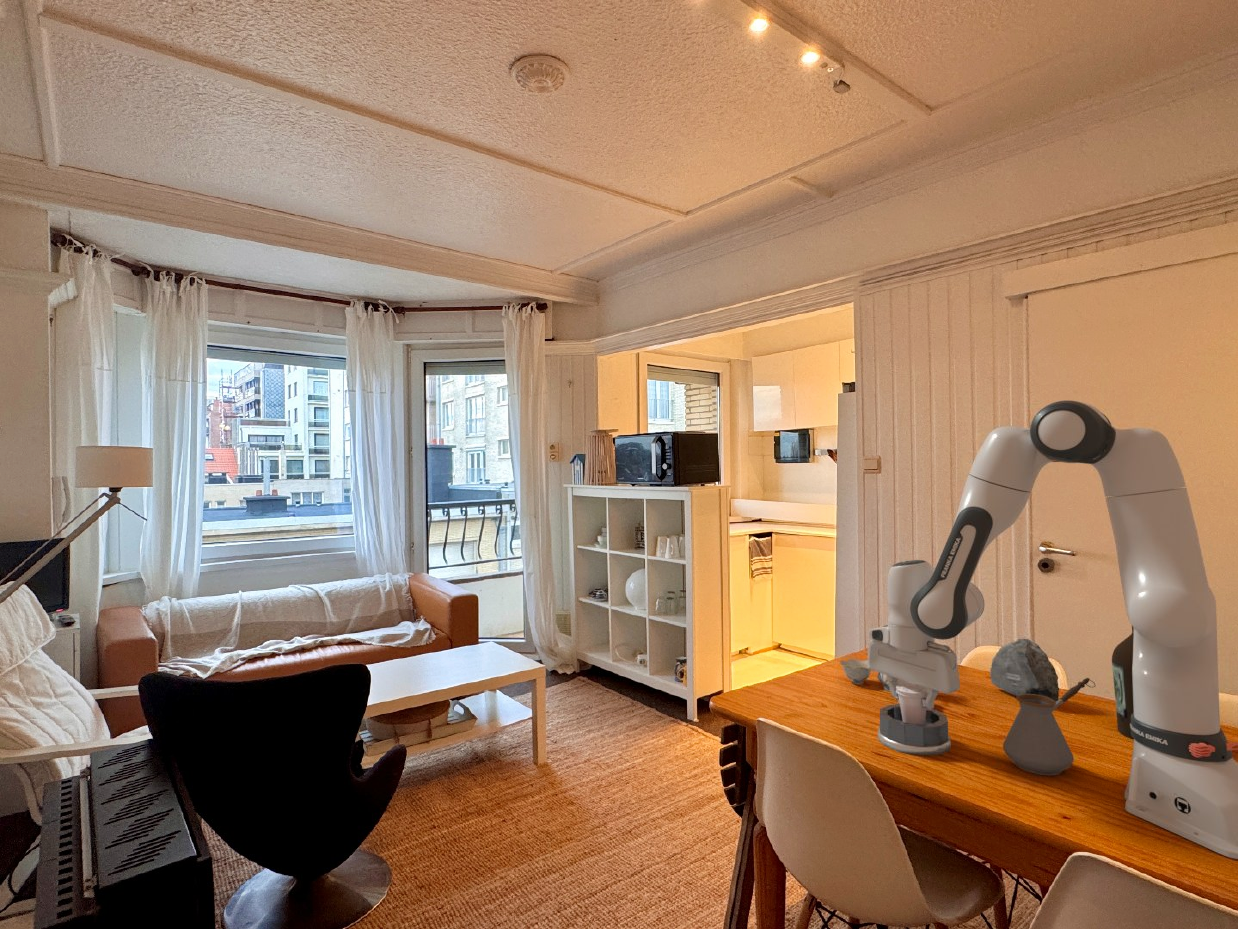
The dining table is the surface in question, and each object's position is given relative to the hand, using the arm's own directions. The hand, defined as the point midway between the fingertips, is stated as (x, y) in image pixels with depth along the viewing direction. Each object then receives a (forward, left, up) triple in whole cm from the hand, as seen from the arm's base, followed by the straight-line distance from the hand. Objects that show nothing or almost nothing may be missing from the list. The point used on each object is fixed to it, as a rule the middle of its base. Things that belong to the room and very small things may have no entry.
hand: (912, 702), depth 139 cm
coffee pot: (-14, -21, -8) cm, 27 cm away
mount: (0, 0, -8) cm, 8 cm away
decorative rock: (+19, -41, -8) cm, 46 cm away
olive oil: (-6, -49, -8) cm, 50 cm away
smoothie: (0, 0, -7) cm, 7 cm away
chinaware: (+31, -13, -8) cm, 34 cm away
